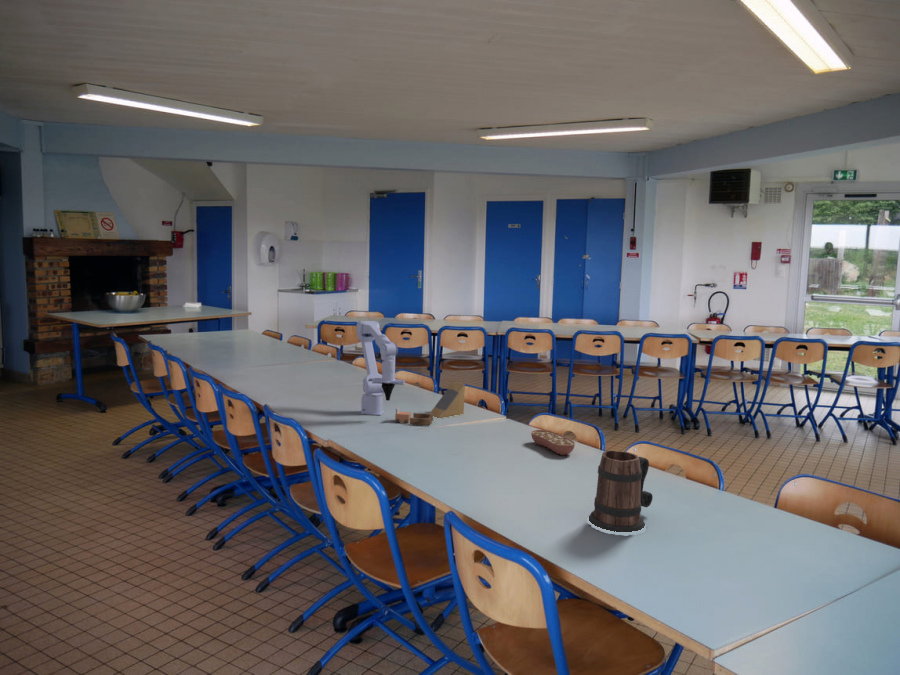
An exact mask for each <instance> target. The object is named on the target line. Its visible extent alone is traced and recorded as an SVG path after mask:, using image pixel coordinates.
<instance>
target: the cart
mask: <svg viewBox="0 0 900 675" xmlns="http://www.w3.org/2000/svg"><path fill="white" fill-rule="evenodd" d="M411 414H412V412H411V411H400V406H397V407H396V408H395V416H394V417H395V418H394V420H395V421H394V422H397V423H396V424H410V418H412V417H411ZM398 422H400V423H398ZM401 422H402V423H401Z"/></svg>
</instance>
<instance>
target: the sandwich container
mask: <svg viewBox="0 0 900 675" xmlns="http://www.w3.org/2000/svg"><path fill="white" fill-rule="evenodd" d="M465 389H466V384H465V383H462V382H458V381H452V383H451V384H450V385H449V387H448V388H447V389H446V391H445V392H444V394H443V395H442V396H441V398H440V399H439V400H438V402H437V403H436V404H435V406H434V407H433V408H432V410H431V411H430V412H429V414H433V416H434V417H437V418H441V419H444V418H443V417H447V418H450V417H449V416H453V417H455V416H454V415H459V416H461V415H460V414H463V415H464V414H465V413H464V412H465V410H464V409H465ZM434 417H433V418H434ZM437 418H436V419H437Z"/></svg>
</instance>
